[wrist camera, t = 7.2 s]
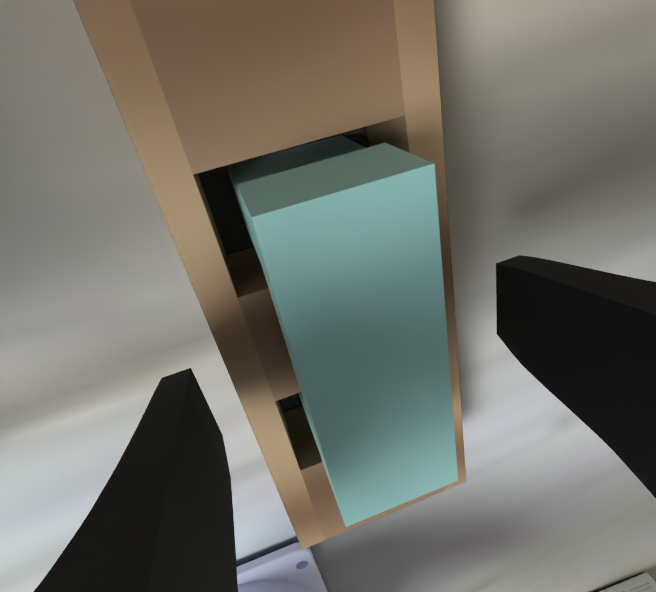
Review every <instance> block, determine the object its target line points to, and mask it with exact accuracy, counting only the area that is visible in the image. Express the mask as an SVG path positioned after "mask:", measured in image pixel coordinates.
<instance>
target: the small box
mask: <svg viewBox="0 0 656 592" xmlns="http://www.w3.org/2000/svg"><path fill="white" fill-rule="evenodd" d="M599 592H656V582H655V581H654V579H653V578H652V577H651V576H650V575H649V574H647V573H643V574H641V575H638V576H636V577H633V578H631V579H628V580H626V581H623V582H621V583H619V584H616V585H614V586H611V587H609V588H606V589H604V590H601V591H599Z"/></svg>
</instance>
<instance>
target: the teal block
mask: <svg viewBox="0 0 656 592" xmlns="http://www.w3.org/2000/svg"><path fill="white" fill-rule="evenodd" d="M227 170H228V173H229V176H230V179H231V183H232V186H233V189H234V192H235V195H236V198H237V202H238V205H239V208H240V211H241V214H242V217H243V220H244V223H245V225H246V228H247V230H248V233H249V235H250V238H251V240H252V243H253V245H254V248H255V250H256V253H257V255H258V258H259V260H260V263H261V265H262V269H263V272H264V275H265V278H266V281H267V285H268V288H269V291H270V294H271V298H272V301H273V304H274V307H275V310H276V314H277V317H278V320H279V323H280V327H281V330H282V333H283V336H284V339H285V343H286V346H287V349H288V352H289V356H290V359H291V362H292V365H293V368H294V372H295V375H296V378H297V381H298V385H299V388H300V391H301V392H300V393H298V394H299V397H300V400H301V402H302V405H303V408H304V411H305V414H306V416H307V419H308V422H309V425H310V428H311V430H312V433H313V436H314V439H315V441H316V444H317V447H318V450H319V453H320V455H321V459H322V462H323V465H324V468H325V470H326V473H327V476H328V479H329V482H330V484H331V487H332V490H333V493H334V496H335V498H336V501H337V504H338V507H339V510H340V512H341V515H342V518H343V521H344V524H345V526H346V527H347V526H350V525H352V524H355V523H357V522H359V521H362V520H364V519H367V518H369V517H371V516H374V515H376V514H379V513H381V512H384V511H386V510H388V509H391V508H393V507H396V506H398V505H400V504H403V503H405V502H408V501H410V500H413V499H415V498H417V497H420V496H422V495H425V494H427V493H429V492H432V491H434V490H437V489H439V488H442V487H444V486H446V485H449V484H451V483H454V482H456V481H458V471H457V457H456V444H455V431H454V417H453V404H452V391H451V377H450V364H449V351H448V338H447V324H446V311H445V298H444V284H443V271H442V258H441V244H440V231H439V218H438V204H437V191H436V178H435V164H434V163H432V162H430V161H427V160H425V159H423V158H420V157H418V156H415V155H413V154H411V153H408V152H406V151H404V150H401V149H399V148H397V147H394V146H392V145H390V144H387V143H382V144H378V145H375V146H371V147H368V148H366V147H364V146H362V145H360V144H358V143H356V142H354V141H352V140H350V139H348V138H346V137H344V136H342V135H339V136H336V137H332V138H328V139H325V140H321V141H317V142H314V143H310V144H307V145H303V146H299V147H296V148H292V149H288V150H285V151H281V152H277V153H274V154H270V155H267V156H263V157H259V158H256V159H252V160H248V161H245V162H241V163H237V164H234V165H230V166H227Z"/></svg>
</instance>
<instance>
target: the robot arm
mask: <svg viewBox="0 0 656 592" xmlns="http://www.w3.org/2000/svg"><path fill="white" fill-rule="evenodd" d="M496 293H497V335H498V336H499V337H500V338H501V340H502V341H503V342H504V344H505V345H506V346H507V347H508V349H509V350H510V351H511V352H512V354H513V355H514V356H515V357H516V358H517V359H518V361H519V362H520V363H521V364H522V365H523V366H524V367H525V368H526V369H527V370H528V371H529V372H530V373H531V374H532V375H533V376H534V377H535V378H536V379H537V380H538V381H540V382H541V383H542V384H543V385H544V386H545V387H546V388H547V389H548V390H549V391H550V392H551V393H552V394H554V395H555V396H556V397H557V398H558V399H559V400H560V401H561V402H562V403H563V404H564V405H566V406H567V407H568V408H569V409H570V410H571V411H572V412H573V413H574V414H575V415H576V416H578V417H579V418H580V419H581V420H582V421H583V422H584V423H585V424H586V425H587V426H588V427H590V428H591V429H592V430H593V431H594V432H595V433H596V434H597V435H598V436H599V437H600V438H601V439H602V440H603V441H604V442H605V443H606V444H607V445H608V446H609V447H610V448H611V449H612V450H613V451H614V452H615V453H616V454H617V455H618V456H619V457H620V459H621V460H622V461H623V462H624V463H625V464H626V465H627V466H628V467H629V469H630V470H631V471H632V472H633V473H634V474H635V475H636V476H637V477H638V479H639V480H640V481H641V482H642V483H643V484H644V485H645V486H646V488H647V489H648V490H649V491H650V492H651V493H652V495H653V496H654V497H655V498H656V282H652V281H646V280H641V279H636V278H631V277H626V276H621V275H616V274H612V273H607V272H602V271H598V270H593V269H588V268H584V267H579V266H575V265H570V264H565V263H561V262H556V261H551V260H546V259H540V258H535V257H528V256H516V257H514V258H511V259H508V260H505V261H502V262H499V263H496ZM34 592H327V589H326V587H325V584H324V582H323V579H322V577H321V574H320V572H319V569H318V567H317V564H316V562H315V559H314V557H313V554H312V552H311V549H310V547H308V548H305V549H303V550H302V548H301V545H300V543H299V542H296V543H293V544H291V545H288V546H286V547H284V548H281V549H279V550H276V551H274V552H272V553H269V554H267V555H264V556H262V557H260V558H257V559H255V560H252V561H250V562H247V563H245V564H243V565H240V566H238V567H236V553H235V537H234V521H233V506H232V492H231V478H230V473H229V467H228V462H227V456H226V451H225V446H224V441H223V436H222V433H221V431H220V429H219V427H218V425H217V423H216V421H215V418H214V416H213V414H212V412H211V410H210V408H209V406H208V404H207V401H206V399H205V397H204V395H203V393H202V391H201V389H200V387H199V385H198V382H197V380H196V378H195V376H194V374H193V372H192V370H191V368H190V369H187V370H184V371H181V372H178V373H175V374H172V375H169V376H166V377H163V378H162V379H161V381H160V382H159V384H158V386H157V388H156V390H155V392H154V394H153V396H152V398H151V400H150V402H149V404H148V406H147V408H146V411H145V413H144V415H143V417H142V419H141V421H140V423H139V425H138V427H137V429H136V431H135V433H134V435H133V436H132V438H131V440H130V442H129V444H128V446H127V448H126V450H125V452H124V454H123V455H122V457H121V459H120V461H119V463H118V465H117V467H116V468H115V470H114V472H113V474H112V475H111V477H110V479H109V480H108V482H107V484H106V486H105V487H104V489H103V491H102V492H101V494H100V496H99V497H98V499H97V501H96V503H95V504H94V506H93V508H92V509H91V511H90V513H89V514H88V516H87V517H86V519H85V520H84V522H83V523H82V525H81V526H80V528H79V529H78V531H77V532H76V534H75V535H74V537H73V538H72V540H71V541H70V543H69V544H68V545H67V547H66V548H65V550H64V551H63V553H62V554H61V555H60V557H59V558H58V560H57V561H56V563H55V564H54V565H53V567H52V568H51V570H50V571H49V572H48V574H47V575H46V576H45V578H44V579H43V581H42V582H41V583H40V584H39V586H38V587H37V588H36V589H35V591H34Z"/></svg>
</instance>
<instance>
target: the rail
mask: <svg viewBox="0 0 656 592" xmlns="http://www.w3.org/2000/svg"><path fill="white" fill-rule="evenodd" d="M73 1H74V3H75V6H76V8H77V11H78V13H79V15H80V18H81V20H82V23H83V25H84V27H85V30H86V32H87V35H88V37H89V39H90V42H91V44H92V47H93V49H94V51H95V54H96V56H97V58H98V61H99V63H100V66H101V68H102V70H103V73H104V75H105V78H106V80H107V82H108V85H109V87H110V90H111V92H112V94H113V97H114V99H115V102H116V104H117V106H118V109H119V111H120V114H121V116H122V118H123V121H124V123H125V126H126V128H127V130H128V133H129V135H130V138H131V140H132V142H133V145H134V147H135V150H136V152H137V154H138V157H139V159H140V162H141V164H142V166H143V169H144V171H145V174H146V176H147V178H148V181H149V183H150V186H151V188H152V190H153V193H154V195H155V198H156V200H157V202H158V205H159V207H160V210H161V212H162V214H163V217H164V219H165V221H166V224H167V226H168V229H169V231H170V233H171V236H172V238H173V241H174V243H175V245H176V248H177V250H178V253H179V255H180V257H181V260H182V262H183V265H184V267H185V269H186V272H187V274H188V277H189V279H190V281H191V284H192V286H193V289H194V291H195V293H196V296H197V298H198V301H199V303H200V305H201V308H202V310H203V313H204V315H205V317H206V320H207V322H208V325H209V327H210V329H211V332H212V334H213V337H214V339H215V341H216V344H217V346H218V349H219V351H220V353H221V356H222V358H223V361H224V363H225V365H226V368H227V370H228V373H229V375H230V377H231V380H232V382H233V385H234V387H235V389H236V392H237V394H238V396H239V399H240V401H241V404H242V406H243V408H244V411H245V413H246V416H247V418H248V420H249V423H250V425H251V428H252V430H253V432H254V435H255V437H256V440H257V442H258V444H259V447H260V449H261V452H262V454H263V456H264V459H265V461H266V464H267V466H268V468H269V471H270V473H271V476H272V478H273V480H274V483H275V485H276V488H277V490H278V492H279V495H280V497H281V500H282V502H283V504H284V507H285V509H286V512H287V514H288V516H289V519H290V521H291V524H292V526H293V528H294V531H295V533H296V536H297V538H298V540H299V543H300V545H301V548H302V550H303V549H305V548H308V547H310V546H312V545H315V544H317V543H320V542H322V541H324V540H327V539H329V538H332V537H334V536H336V535H339V534H341V533H344V532H346V531H348V530H351V529H353V528H355V527H358V526H360V525H363V524H365V523H367V522H370V521H372V520H375V519H377V518H379V517H382V516H384V515H387V514H389V513H391V512H394V511H396V510H399V509H401V508H403V507H406V506H408V505H411V504H413V503H415V502H418V501H420V500H423V499H425V498H427V497H430V496H432V495H434V494H437V493H439V492H442V491H444V490H446V489H449V488H451V487H454V486H456V485H458V484H461V483H463V482H466V472H465V457H464V442H463V427H462V413H461V398H460V383H459V368H458V353H457V338H456V323H455V308H454V293H453V279H452V264H451V249H450V234H449V219H448V204H447V189H446V174H445V159H444V144H443V130H442V115H441V100H440V85H439V70H438V55H437V40H436V25H435V10H434V0H73ZM362 127H366V129H367V136H368V142H369V147H371V146H375V145H378V144H382V143H387V144H390V145H392V146H394V147H397V148H399V149H401V150H404V151H406V152H408V153H411V154H413V155H415V156H418V157H420V158H423V159H425V160H427V161H430V162H432V163H434V164H435V178H436V191H437V204H438V218H439V231H440V244H441V258H442V271H443V284H444V298H445V311H446V324H447V338H448V351H449V364H450V377H451V391H452V404H453V417H454V431H455V444H456V457H457V471H458V481H456V482H454V483H451V484H449V485H446V486H444V487H442V488H439V489H437V490H434V491H432V492H429V493H427V494H425V495H422V496H420V497H417V498H415V499H413V500H410V501H408V502H405V503H403V504H400V505H398V506H396V507H393V508H391V509H388V510H386V511H384V512H381V513H379V514H376V515H374V516H371V517H369V518H367V519H364V520H362V521H359V522H357V523H355V524H352V525H350V526H347V527H346V526H345V524H344V521H343V518H342V515H341V512H340V510H339V507H338V504H337V501H336V498H335V496H334V493H333V490H332V487H331V484H330V482H329V479H328V476H327V473H326V470H325V468H324V465H323V462H322V459H321V455H320V453H319V450H318V447H317V444H316V441H315V439H314V436H313V433H312V430H311V428H310V425H309V422H308V419H307V416H306V414H305V411H304V408H303V406H300V407H297V408H294V409H292V410H289V411H286V412H284V413H283V411H282V408H281V406H280V403H279V400H281V399H283V398H286V397H289V396H292V395H294V394H297V393H300V392H301V391H300V388H299V385H298V381H297V378H296V375H295V372H294V368H293V365H292V362H291V359H290V356H289V352H288V349H287V346H286V343H285V339H284V336H283V333H282V330H281V327H280V323H279V320H278V317H277V314H276V310H275V307H274V304H273V301H272V298H271V294H270V291H269V288H268V285H267V281H266V278H265V275H264V272H263V269H262V265H261V263H260V260H259V258H258V255H257V253H256V250H255V248H254V247H252V248H249V249H246V250H243V251H239V252H236V253H233V254H230V255H227V254H226V251H225V248H224V245H223V243H222V240H221V237H220V234H219V231H218V229H217V226H216V223H215V220H214V217H213V215H212V212H211V209H210V206H209V203H208V200H207V198H206V195H205V192H204V189H203V186H202V184H201V181H200V178H199V175H198V173H201V172H204V171H208V170H212V169H215V168H219V167H222V166H226V165H229V164H233V163H237V162H240V161H244V160H247V159H251V158H255V157H258V156H262V155H265V154H269V153H272V152H276V151H280V150H283V149H287V148H290V147H294V146H298V145H301V144H305V143H308V142H312V141H315V140H319V139H323V138H326V137H330V136H333V135H337V134H341V133H344V132H348V131H351V130H355V129H358V128H362Z"/></svg>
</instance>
